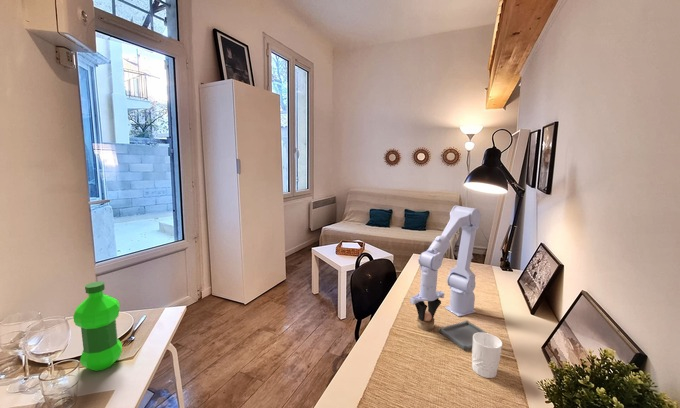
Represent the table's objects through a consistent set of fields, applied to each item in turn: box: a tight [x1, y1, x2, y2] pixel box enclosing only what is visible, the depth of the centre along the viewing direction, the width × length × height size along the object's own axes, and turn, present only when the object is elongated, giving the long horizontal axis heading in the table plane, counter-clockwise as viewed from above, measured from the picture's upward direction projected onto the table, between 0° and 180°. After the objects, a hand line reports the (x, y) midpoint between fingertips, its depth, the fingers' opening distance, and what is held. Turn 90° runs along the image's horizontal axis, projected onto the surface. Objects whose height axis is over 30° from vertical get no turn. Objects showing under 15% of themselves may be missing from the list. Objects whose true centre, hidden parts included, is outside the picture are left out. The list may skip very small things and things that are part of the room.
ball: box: [424, 310, 432, 322], centre depth 113 cm, size 4×4×4 cm
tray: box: [438, 320, 488, 352], centre depth 108 cm, size 14×12×1 cm
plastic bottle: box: [73, 280, 123, 372], centre depth 87 cm, size 10×10×25 cm
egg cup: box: [416, 315, 435, 332], centre depth 114 cm, size 6×6×3 cm
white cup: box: [471, 332, 503, 379], centre depth 90 cm, size 8×8×10 cm
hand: (426, 318), depth 113 cm, fingers closed on ball, 4 cm apart
